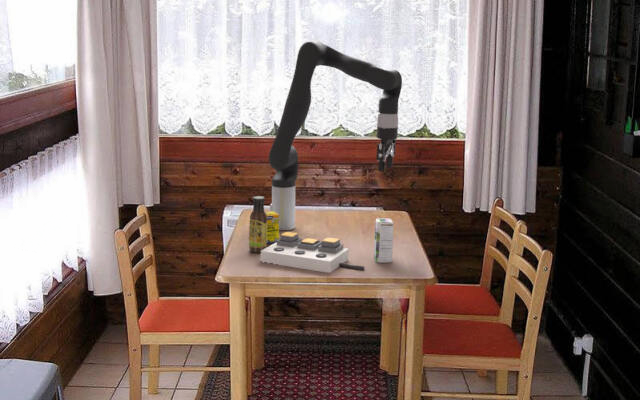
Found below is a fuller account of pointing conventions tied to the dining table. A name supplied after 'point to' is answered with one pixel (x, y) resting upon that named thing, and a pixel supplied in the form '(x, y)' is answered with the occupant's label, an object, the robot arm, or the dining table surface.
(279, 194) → the robot arm
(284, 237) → the switch
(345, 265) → the switch panel
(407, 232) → the dining table surface
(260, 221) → the sauce bottle
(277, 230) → the supplement box
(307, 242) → the switch
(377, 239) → the syrup box
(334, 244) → the switch
